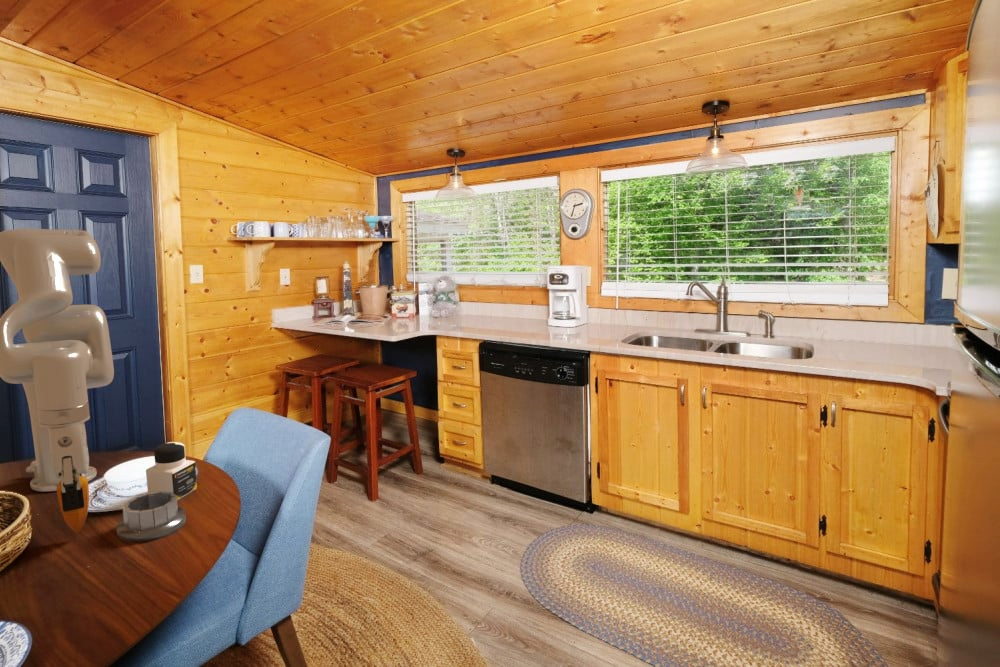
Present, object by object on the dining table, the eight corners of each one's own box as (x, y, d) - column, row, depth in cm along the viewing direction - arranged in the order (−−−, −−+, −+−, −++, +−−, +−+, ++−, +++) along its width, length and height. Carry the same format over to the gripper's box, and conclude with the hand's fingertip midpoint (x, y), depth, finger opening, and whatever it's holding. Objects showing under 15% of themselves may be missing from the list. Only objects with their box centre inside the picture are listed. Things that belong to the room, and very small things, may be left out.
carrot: (72, 525, 110) (64, 455, 107) (99, 525, 110) (91, 455, 107) (55, 539, 105) (46, 466, 102) (83, 538, 105) (75, 466, 103)
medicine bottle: (174, 502, 123) (170, 452, 121) (147, 499, 125) (143, 449, 123) (197, 488, 130) (194, 440, 128) (172, 485, 131) (168, 438, 129)
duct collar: (102, 539, 108) (99, 513, 107) (147, 510, 119) (145, 486, 119) (158, 544, 106) (155, 518, 105) (198, 514, 118) (196, 490, 117)
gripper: (88, 424, 98) (98, 517, 102) (90, 398, 112) (98, 481, 115) (33, 431, 94) (46, 528, 97) (42, 404, 108) (53, 490, 111)
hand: (74, 502), depth 106 cm, fingers closed on carrot, 4 cm apart
